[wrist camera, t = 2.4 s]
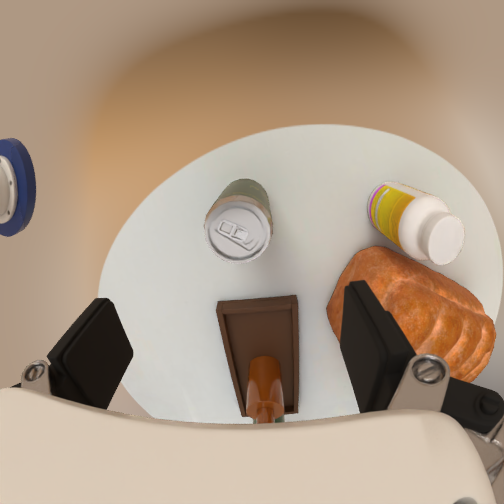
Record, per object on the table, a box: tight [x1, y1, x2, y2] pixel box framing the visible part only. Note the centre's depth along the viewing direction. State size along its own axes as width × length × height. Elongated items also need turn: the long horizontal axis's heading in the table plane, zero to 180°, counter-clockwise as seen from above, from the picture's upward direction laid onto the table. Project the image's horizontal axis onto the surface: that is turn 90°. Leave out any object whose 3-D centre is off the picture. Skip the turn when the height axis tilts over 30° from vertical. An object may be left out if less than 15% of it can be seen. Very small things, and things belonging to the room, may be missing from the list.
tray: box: [216, 295, 299, 417], centre depth 40 cm, size 11×26×2 cm, turn 6°
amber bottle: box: [246, 356, 284, 424], centre depth 35 cm, size 5×5×12 cm
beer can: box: [204, 179, 273, 263], centre depth 26 cm, size 5×5×12 cm
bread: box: [326, 246, 496, 383], centre depth 29 cm, size 14×26×16 cm, turn 69°
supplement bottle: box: [367, 182, 465, 265], centre depth 25 cm, size 7×7×13 cm
